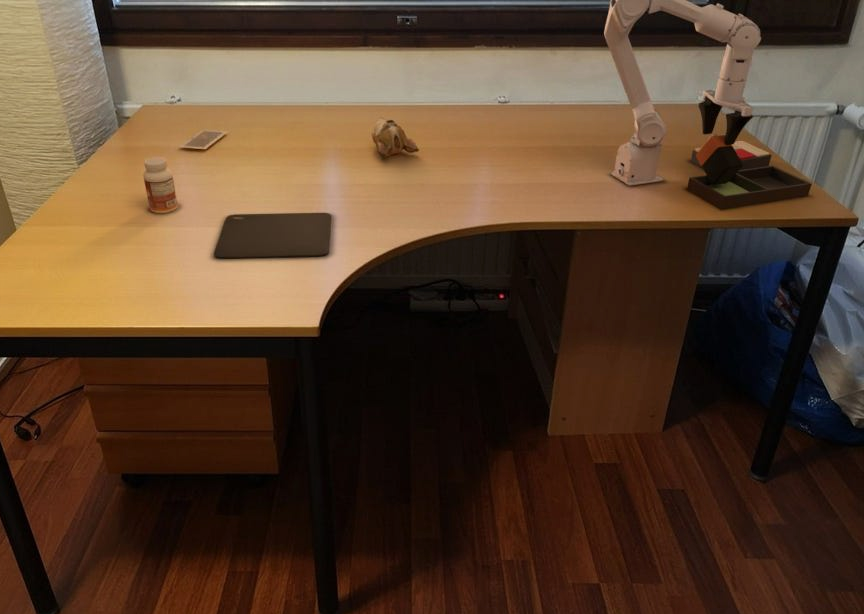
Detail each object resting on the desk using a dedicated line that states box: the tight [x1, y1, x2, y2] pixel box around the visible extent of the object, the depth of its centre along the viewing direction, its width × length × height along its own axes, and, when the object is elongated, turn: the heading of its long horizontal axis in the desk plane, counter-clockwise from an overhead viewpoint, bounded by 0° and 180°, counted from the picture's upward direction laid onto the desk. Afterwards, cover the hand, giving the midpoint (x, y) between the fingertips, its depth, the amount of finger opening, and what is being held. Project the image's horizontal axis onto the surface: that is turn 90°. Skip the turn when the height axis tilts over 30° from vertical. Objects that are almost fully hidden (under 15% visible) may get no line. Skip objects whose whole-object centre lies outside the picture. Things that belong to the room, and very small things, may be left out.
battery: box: [696, 133, 743, 185], centre depth 171 cm, size 4×7×10 cm
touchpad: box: [178, 128, 229, 150], centre depth 203 cm, size 8×15×2 cm, turn 166°
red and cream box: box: [690, 140, 772, 170], centre depth 186 cm, size 11×4×15 cm
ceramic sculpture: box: [371, 116, 420, 158], centre depth 194 cm, size 11×9×15 cm
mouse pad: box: [213, 212, 332, 259], centre depth 155 cm, size 23×20×1 cm
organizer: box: [686, 165, 813, 211], centre depth 171 cm, size 24×12×3 cm, turn 108°
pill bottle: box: [143, 156, 178, 214], centre depth 164 cm, size 6×6×11 cm
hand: (717, 138), depth 172 cm, fingers open, 7 cm apart
